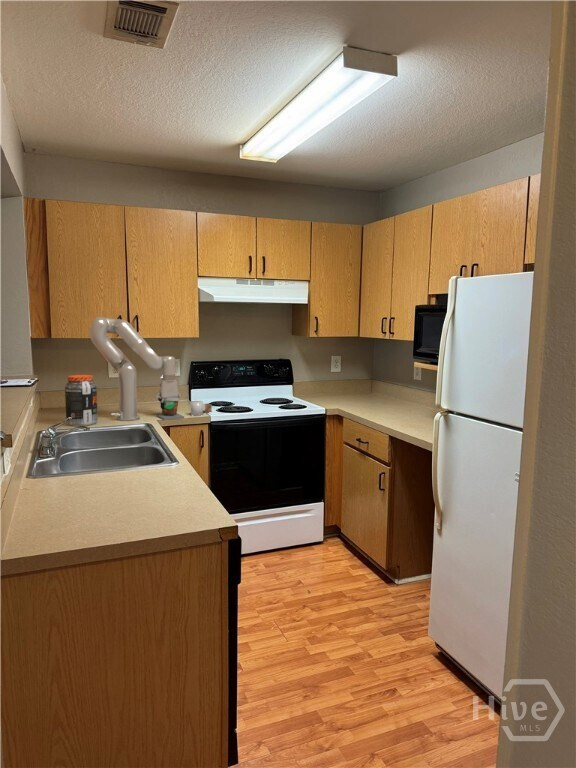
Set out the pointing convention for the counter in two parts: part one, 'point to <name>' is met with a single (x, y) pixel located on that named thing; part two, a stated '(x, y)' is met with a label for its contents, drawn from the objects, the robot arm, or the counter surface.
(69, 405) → the supplement tub
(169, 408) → the food container
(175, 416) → the slate mat
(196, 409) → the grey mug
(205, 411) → the walnut block
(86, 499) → the counter surface
